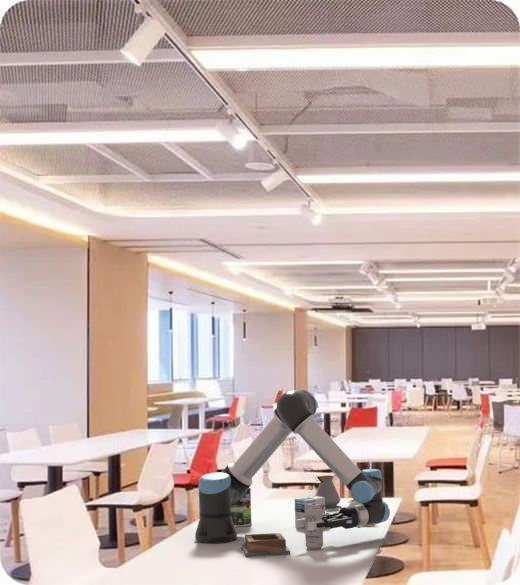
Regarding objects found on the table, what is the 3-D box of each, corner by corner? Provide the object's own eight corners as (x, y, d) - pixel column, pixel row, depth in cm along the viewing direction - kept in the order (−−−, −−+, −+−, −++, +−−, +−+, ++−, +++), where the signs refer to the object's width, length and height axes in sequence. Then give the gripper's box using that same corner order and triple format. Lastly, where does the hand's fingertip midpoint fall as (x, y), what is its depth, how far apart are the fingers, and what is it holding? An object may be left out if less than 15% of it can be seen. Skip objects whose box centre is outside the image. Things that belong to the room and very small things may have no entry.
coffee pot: (317, 504, 436) (316, 469, 436) (343, 504, 432) (342, 469, 433) (305, 512, 415) (303, 476, 416) (331, 512, 412) (330, 476, 413)
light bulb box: (306, 528, 378) (305, 500, 378) (294, 526, 383) (293, 498, 383) (326, 524, 385) (325, 496, 385) (314, 522, 390) (313, 495, 390)
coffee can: (257, 523, 391) (256, 487, 392) (240, 528, 383) (239, 491, 384) (236, 521, 398) (235, 486, 398) (220, 525, 389) (219, 489, 390)
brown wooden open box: (241, 547, 345) (240, 534, 345) (283, 545, 347) (283, 532, 347) (245, 556, 330) (245, 542, 330) (290, 554, 332) (289, 540, 332)
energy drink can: (303, 549, 339) (302, 505, 339) (308, 546, 344) (307, 502, 345) (320, 550, 336) (319, 506, 337) (325, 547, 342) (324, 503, 343)
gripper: (371, 531, 344) (320, 540, 330) (335, 524, 359) (285, 532, 345) (370, 509, 344) (319, 517, 330) (334, 503, 359) (284, 510, 345)
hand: (302, 525), depth 338 cm, fingers closed on energy drink can, 6 cm apart
